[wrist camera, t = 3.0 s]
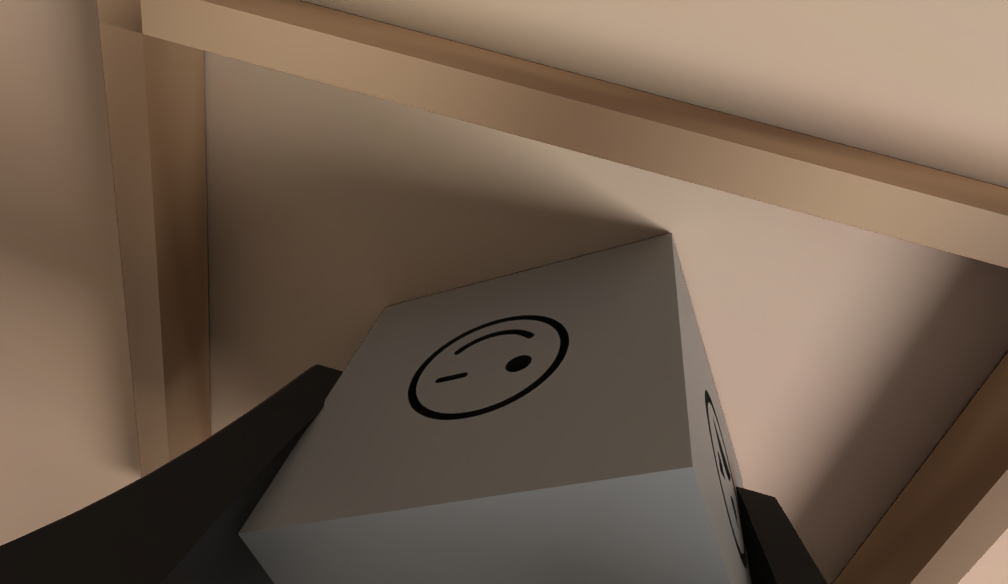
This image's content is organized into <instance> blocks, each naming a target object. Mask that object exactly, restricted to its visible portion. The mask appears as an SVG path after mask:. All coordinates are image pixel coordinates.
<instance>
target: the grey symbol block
mask: <svg viewBox="0 0 1008 584" xmlns="http://www.w3.org/2000/svg"><path fill="white" fill-rule="evenodd" d="M736 487H741V488H743V483H742V478H741V474H740V470H739V467H738V463H737V460H736V456H735V453H734V449H733V446H732V442H731V439H730V435H729V432H728V428H727V425H726V421H725V418H724V414H723V411H722V407H721V404H720V400H719V397H718V393H717V390H716V386H715V383H714V379H713V376H712V372H711V369H710V365H709V362H708V358H707V355H706V352H705V348H704V345H703V341H702V338H701V334H700V331H699V327H698V324H697V320H696V317H695V313H694V310H693V306H692V303H691V299H690V296H689V292H688V289H687V285H686V282H685V278H684V275H683V271H682V268H681V264H680V261H679V257H678V254H677V250H676V247H675V243H674V240H673V236H672V233H669V234H665V235H661V236H657V237H654V238H650V239H646V240H642V241H638V242H634V243H631V244H627V245H623V246H619V247H615V248H611V249H607V250H604V251H600V252H596V253H592V254H588V255H584V256H580V257H577V258H573V259H569V260H565V261H561V262H557V263H553V264H550V265H546V266H542V267H538V268H534V269H530V270H527V271H523V272H519V273H515V274H511V275H507V276H503V277H500V278H496V279H492V280H488V281H484V282H480V283H476V284H473V285H469V286H465V287H461V288H457V289H453V290H449V291H446V292H442V293H438V294H434V295H430V296H426V297H423V298H419V299H415V300H411V301H407V302H403V303H399V304H396V305H392V306H388V307H385V309H384V310H383V312H382V313H381V315H380V316H379V318H378V319H377V321H376V322H375V324H374V325H373V327H372V329H371V330H370V332H369V333H368V335H367V336H366V338H365V339H364V341H363V342H362V344H361V345H360V347H359V349H358V350H357V352H356V353H355V355H354V356H353V358H352V359H351V361H350V362H349V364H348V365H347V367H346V369H345V370H344V372H343V373H342V375H341V376H340V378H339V379H338V381H337V382H336V384H335V385H334V387H333V388H332V390H331V392H330V393H329V395H328V396H327V398H326V399H325V403H324V407H323V408H322V410H321V411H320V412H319V414H318V415H317V416H316V417H315V419H314V420H313V421H312V423H311V424H310V425H309V427H308V428H307V429H306V431H305V432H304V433H303V435H302V436H301V438H300V439H299V441H298V442H297V444H296V445H295V447H294V448H293V450H292V452H291V453H290V455H289V456H288V458H287V459H286V461H285V462H284V464H283V465H282V467H281V468H280V470H279V471H278V473H277V475H276V476H275V478H274V479H273V481H272V482H271V484H270V485H269V487H268V488H267V490H266V491H265V493H264V495H263V496H262V498H261V499H260V501H259V502H258V504H257V505H256V507H255V508H254V510H253V511H252V513H251V515H250V516H249V518H248V519H247V521H246V522H245V524H244V525H243V527H242V528H241V530H240V531H239V533H238V534H239V536H240V537H241V538H242V540H243V541H244V543H245V544H246V545H247V547H248V548H249V549H250V551H251V552H252V554H253V555H254V556H255V558H256V559H257V560H258V562H259V563H260V564H261V566H262V567H263V569H264V570H265V571H266V573H267V574H268V575H269V577H270V578H271V579H272V581H273V582H274V584H752V579H751V574H750V568H749V563H748V557H747V551H746V546H745V544H744V541H743V535H742V527H741V516H740V510H739V503H738V497H737V491H736Z"/></svg>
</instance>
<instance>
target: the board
mask: <svg viewBox="0 0 1008 584" xmlns="http://www.w3.org/2000/svg"><path fill="white" fill-rule="evenodd" d="M97 8H98V19H99V29H100V40H101V51H102V61H103V72H104V83H105V93H106V104H107V115H108V125H109V136H110V147H111V157H112V168H113V179H114V189H115V200H116V211H117V221H118V232H119V243H120V253H121V264H122V275H123V285H124V296H125V307H126V317H127V328H128V339H129V349H130V360H131V371H132V381H133V392H134V403H135V413H136V424H137V435H138V445H139V456H140V467H141V477H144V476H146V475H148V474H149V473H151V472H153V471H154V470H156V469H158V468H160V467H161V466H163V465H165V464H166V463H168V462H170V461H171V460H173V459H175V458H176V457H178V456H180V455H181V454H183V453H185V452H187V451H188V450H190V449H192V448H193V447H195V446H197V445H198V444H200V443H202V442H203V441H205V440H206V439H208V438H209V437H211V423H210V364H209V305H208V246H207V187H206V128H205V69H204V51H208V52H211V53H215V54H219V55H222V56H226V57H230V58H233V59H237V60H241V61H244V62H248V63H252V64H256V65H259V66H263V67H267V68H270V69H274V70H278V71H281V72H285V73H289V74H292V75H296V76H300V77H304V78H307V79H311V80H315V81H318V82H322V83H326V84H329V85H333V86H337V87H341V88H344V89H348V90H352V91H355V92H359V93H363V94H366V95H370V96H374V97H377V98H381V99H385V100H389V101H392V102H396V103H400V104H403V105H407V106H411V107H414V108H418V109H422V110H425V111H429V112H433V113H437V114H440V115H444V116H448V117H451V118H455V119H459V120H462V121H466V122H470V123H473V124H477V125H481V126H485V127H488V128H492V129H496V130H499V131H503V132H507V133H510V134H514V135H518V136H522V137H525V138H529V139H533V140H536V141H540V142H544V143H547V144H551V145H555V146H558V147H562V148H566V149H570V150H573V151H577V152H581V153H584V154H588V155H592V156H595V157H599V158H603V159H606V160H610V161H614V162H618V163H621V164H625V165H629V166H632V167H636V168H640V169H643V170H647V171H651V172H654V173H658V174H662V175H666V176H669V177H673V178H677V179H680V180H684V181H688V182H691V183H695V184H699V185H702V186H706V187H710V188H714V189H717V190H721V191H725V192H728V193H732V194H736V195H739V196H743V197H747V198H751V199H754V200H758V201H762V202H765V203H769V204H773V205H776V206H780V207H784V208H787V209H791V210H795V211H799V212H802V213H806V214H810V215H813V216H817V217H821V218H824V219H828V220H832V221H835V222H839V223H843V224H847V225H850V226H854V227H858V228H861V229H865V230H869V231H872V232H876V233H880V234H883V235H887V236H891V237H895V238H898V239H902V240H906V241H909V242H913V243H917V244H920V245H924V246H928V247H931V248H935V249H939V250H943V251H946V252H950V253H954V254H957V255H961V256H965V257H968V258H972V259H976V260H980V261H983V262H987V263H991V264H994V265H998V266H1002V267H1005V268H1008V188H1004V187H1000V186H996V185H993V184H989V183H985V182H981V181H978V180H974V179H970V178H966V177H963V176H959V175H955V174H951V173H947V172H944V171H940V170H936V169H932V168H929V167H925V166H921V165H917V164H914V163H910V162H906V161H902V160H899V159H895V158H891V157H887V156H883V155H880V154H876V153H872V152H868V151H865V150H861V149H857V148H853V147H850V146H846V145H842V144H838V143H834V142H831V141H827V140H823V139H819V138H816V137H812V136H808V135H804V134H801V133H797V132H793V131H789V130H785V129H782V128H778V127H774V126H770V125H767V124H763V123H759V122H755V121H752V120H748V119H744V118H740V117H737V116H733V115H729V114H725V113H721V112H718V111H714V110H710V109H706V108H703V107H699V106H695V105H691V104H688V103H684V102H680V101H676V100H672V99H669V98H665V97H661V96H657V95H654V94H650V93H646V92H642V91H639V90H635V89H631V88H627V87H623V86H620V85H616V84H612V83H608V82H605V81H601V80H597V79H593V78H590V77H586V76H582V75H578V74H575V73H571V72H567V71H563V70H559V69H556V68H552V67H548V66H544V65H541V64H537V63H533V62H529V61H526V60H522V59H518V58H514V57H510V56H507V55H503V54H499V53H495V52H492V51H488V50H484V49H480V48H477V47H473V46H469V45H465V44H461V43H458V42H454V41H450V40H446V39H443V38H439V37H435V36H431V35H428V34H424V33H420V32H416V31H413V30H409V29H405V28H401V27H397V26H394V25H390V24H386V23H382V22H379V21H375V20H371V19H367V18H364V17H360V16H356V15H352V14H348V13H345V12H341V11H337V10H333V9H330V8H326V7H322V6H318V5H315V4H311V3H307V2H303V1H299V0H97ZM1007 528H1008V352H1007V354H1006V355H1005V356H1004V358H1003V359H1002V360H1001V362H1000V363H999V364H998V366H997V367H996V368H995V370H994V371H993V372H992V374H991V375H990V376H989V378H988V379H987V380H986V382H985V383H984V384H983V386H982V387H981V388H980V390H979V391H978V392H977V394H976V395H975V396H974V398H973V399H972V400H971V402H970V403H969V404H968V405H967V407H966V408H965V409H964V411H963V412H962V413H961V415H960V416H959V417H958V419H957V420H956V421H955V423H954V424H953V425H952V427H951V428H950V429H949V431H948V432H947V433H946V435H945V436H944V437H943V439H942V440H941V441H940V443H939V444H938V445H937V447H936V448H935V449H934V451H933V452H932V453H931V455H930V456H929V457H928V458H927V460H926V461H925V462H924V464H923V465H922V466H921V468H920V469H919V470H918V472H917V473H916V474H915V476H914V477H913V478H912V480H911V481H910V482H909V484H908V485H907V486H906V488H905V489H904V490H903V492H902V493H901V494H900V496H899V497H898V498H897V500H896V501H895V502H894V504H893V505H892V506H891V508H890V509H889V510H888V512H887V513H886V514H885V515H884V517H883V518H882V519H881V521H880V522H879V523H878V525H877V526H876V527H875V529H874V530H873V531H872V533H871V534H870V535H869V537H868V538H867V539H866V541H865V542H864V543H863V545H862V546H861V547H860V549H859V550H858V551H857V553H856V554H855V555H854V557H853V558H852V559H851V561H850V562H849V563H848V565H847V566H846V567H845V568H844V570H843V571H842V572H841V574H840V575H839V576H838V578H837V579H836V580H835V582H834V583H833V584H957V583H958V582H959V581H960V580H961V579H962V578H963V577H964V576H965V574H966V573H967V572H968V571H969V570H970V569H971V568H972V567H973V566H974V565H975V563H976V562H977V561H978V560H979V559H980V558H981V557H982V556H983V555H984V554H985V552H986V551H987V550H988V549H989V548H990V547H991V546H992V545H993V544H994V543H995V541H996V540H997V539H998V538H999V537H1000V536H1001V535H1002V534H1003V533H1004V532H1005V530H1006V529H1007Z"/></svg>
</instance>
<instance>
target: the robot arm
mask: <svg viewBox="0 0 1008 584" xmlns="http://www.w3.org/2000/svg"><path fill="white" fill-rule="evenodd" d="M342 373H343V372H342V371H338V370H335V369H331V368H328V367H325V366H321V365H318V364H317V365H315V366H313V367H311V368H309V369H308V370H307V371H305V372H304V373H302V374H301V375H300V376H298V377H297V378H296V379H294V380H293V381H291V382H290V383H289V384H287V385H286V386H285V387H283V388H282V389H280V390H279V391H278V392H276V393H275V394H273V395H272V396H270V397H269V398H268V399H266V400H265V401H263V402H262V403H260V404H259V405H258V406H256V407H255V408H253V409H252V410H250V411H249V412H247V413H246V414H244V415H243V416H241V417H240V418H238V419H237V420H235V421H234V422H232V423H231V424H229V425H228V426H226V427H225V428H223V429H222V430H220V431H219V432H217V433H216V434H214V435H212V436H211V437H209V438H208V439H206V440H205V441H203V442H202V443H200V444H198V445H197V446H195V447H193V448H192V449H190V450H188V451H187V452H185V453H183V454H181V455H180V456H178V457H176V458H175V459H173V460H171V461H170V462H168V463H166V464H165V465H163V466H161V467H160V468H158V469H156V470H154V471H153V472H151V473H149V474H148V475H146V476H144V477H142V478H140V479H139V480H137V481H135V482H133V483H131V484H129V485H128V486H126V487H124V488H122V489H120V490H118V491H116V492H114V493H112V494H111V495H109V496H107V497H105V498H103V499H101V500H99V501H97V502H95V503H93V504H91V505H89V506H87V507H85V508H83V509H81V510H79V511H77V512H75V513H73V514H71V515H68V516H66V517H64V518H62V519H60V520H57V521H55V522H53V523H51V524H49V525H47V526H44V527H42V528H40V529H38V530H36V531H33V532H31V533H29V534H27V535H25V536H22V537H20V538H18V539H16V540H13V541H11V542H9V543H6V544H4V545H2V546H0V584H274V582H273V581H272V579H271V578H270V577H269V575H268V574H267V573H266V571H265V570H264V569H263V567H262V566H261V564H260V563H259V562H258V560H257V559H256V558H255V556H254V555H253V554H252V552H251V551H250V549H249V548H248V547H247V545H246V544H245V543H244V541H243V540H242V538H241V537H240V536H239V534H238V533H239V531H240V530H241V528H242V527H243V525H244V524H245V522H246V521H247V519H248V518H249V516H250V515H251V513H252V511H253V510H254V508H255V507H256V505H257V504H258V502H259V501H260V499H261V498H262V496H263V495H264V493H265V491H266V490H267V488H268V487H269V485H270V484H271V482H272V481H273V479H274V478H275V476H276V475H277V473H278V471H279V470H280V468H281V467H282V465H283V464H284V462H285V461H286V459H287V458H288V456H289V455H290V453H291V452H292V450H293V448H294V447H295V445H296V444H297V442H298V441H299V439H300V438H301V436H302V435H303V433H304V432H305V431H306V429H307V428H308V427H309V425H310V424H311V423H312V421H313V420H314V419H315V417H316V416H317V415H318V414H319V412H320V411H321V410H322V408H323V407H324V403H325V399H326V398H327V396H328V395H329V393H330V392H331V390H332V388H333V387H334V385H335V384H336V382H337V381H338V379H339V378H340V376H341V375H342ZM736 491H737V497H738V503H739V510H740V516H741V527H742V535H743V541H744V544H745V546H746V551H747V557H748V563H749V568H750V574H751V579H752V584H827V583H826V581H825V579H824V578H823V576H822V574H821V573H820V571H819V569H818V568H817V566H816V564H815V563H814V561H813V559H812V558H811V556H810V554H809V553H808V551H807V549H806V548H805V546H804V544H803V543H802V541H801V539H800V538H799V536H798V534H797V533H796V531H795V529H794V528H793V526H792V524H791V523H790V521H789V519H788V518H787V516H786V514H785V513H784V511H783V509H782V508H781V506H780V505H779V503H778V501H777V500H776V498H775V497H772V496H768V495H765V494H761V493H758V492H754V491H751V490H747V489H744V488H741V487H736Z"/></svg>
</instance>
